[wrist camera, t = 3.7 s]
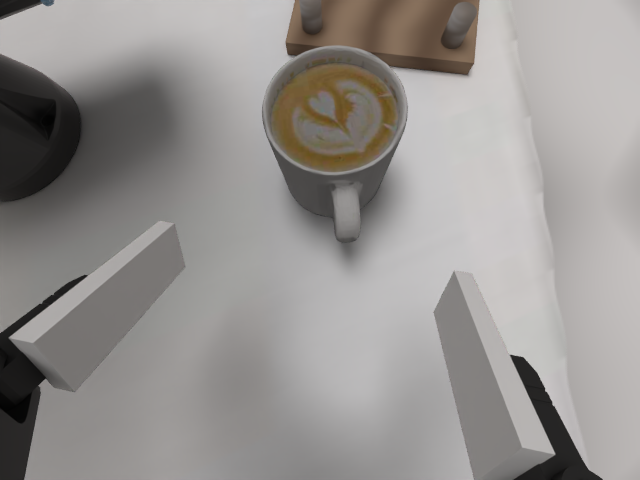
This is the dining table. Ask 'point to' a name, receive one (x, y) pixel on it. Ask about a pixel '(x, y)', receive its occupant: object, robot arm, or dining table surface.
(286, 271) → the dining table surface
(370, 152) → the coffee mug
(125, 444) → the dining table surface
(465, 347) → the robot arm
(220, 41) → the dining table surface
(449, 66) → the standoff board
